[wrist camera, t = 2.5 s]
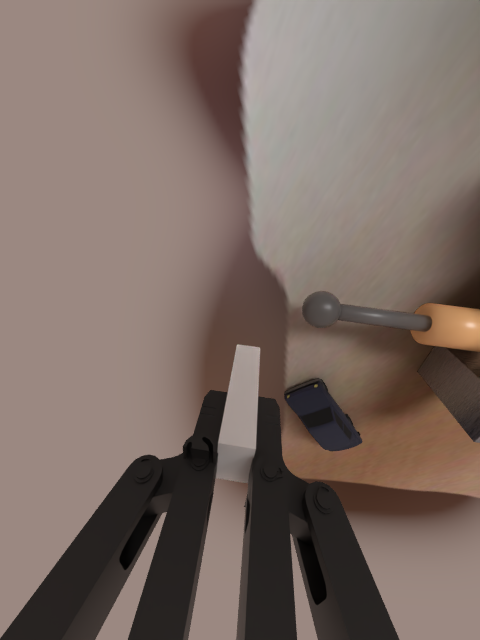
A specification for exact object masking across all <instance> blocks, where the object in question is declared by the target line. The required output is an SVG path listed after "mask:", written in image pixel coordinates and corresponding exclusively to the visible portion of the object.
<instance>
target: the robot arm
mask: <svg viewBox="0 0 480 640" xmlns="http://www.w3.org/2000/svg"><path fill="white" fill-rule="evenodd" d="M259 361H260V347H253V346H245V345H238V344H237V347H236V353H235V358H234V364H233V368H232V373H231V379H230V384H229V389H228V393H227V392H221V391H214V390H210V391H209V392H208V394H207V395H206V396H205V397H204V401H203V404H202V408H201V411H200V415H199V418H198V421H197V424H196V427H195V431H194V434H193V436H191V437H190V438H189V439H187V440H186V442H185V444H184V445H183V453H182V454H180V455H178V456H175V457H172V458H167V459H161V460H159V459H158V458H157V457H156V456H153V455H144V456H141V457H140V458H138V459H136V460H135V461H134V462H133V463H132V464H131V465H130V466H129V467H128V468H127V470H126V471H125V473H124V474H123V475H122V476H121V478H120V479H119V480H118V482H117V483H116V484H115V486H114V487H113V488H112V490H111V491H110V492H109V494H108V495H107V496H106V498H105V499H104V501H103V502H102V503H101V505H100V506H99V507H98V509H97V510H96V511H95V513H94V514H93V515H92V517H91V518H90V519H89V521H88V522H87V523H86V525H85V526H84V527H83V529H82V530H81V531H80V533H79V534H78V535H77V537H76V538H75V539H74V541H73V542H72V543H71V545H70V546H69V547H68V549H67V550H66V551H65V553H64V554H63V555H62V557H61V558H60V559H59V561H58V562H57V563H56V565H55V566H54V568H53V569H52V570H51V572H50V573H49V574H48V575H47V577H46V578H45V579H44V581H43V582H42V584H41V585H40V586H39V588H38V589H37V590H36V592H35V593H34V594H33V596H32V597H31V598H30V600H29V601H28V602H27V604H26V605H25V606H24V608H23V609H22V610H21V612H20V613H19V615H18V616H17V617H16V618H15V620H14V621H13V622H12V624H11V625H10V626H9V628H8V629H7V630H6V632H5V633H4V634H3V636H2V637H1V638H0V640H95V639H96V637H97V635H98V633H99V631H100V629H101V627H102V626H103V623H104V621H105V620H106V618H107V616H108V614H109V612H110V610H111V609H112V607H113V605H114V603H115V601H116V599H117V597H118V595H119V594H120V591H121V589H122V588H123V586H124V584H125V582H126V580H127V578H128V577H129V574H130V573H131V571H132V569H133V567H134V565H135V563H136V562H137V560H138V558H139V556H140V554H141V552H142V550H143V548H144V547H145V545H146V543H147V541H148V539H149V537H150V535H151V533H152V531H153V529H154V528H155V526H156V524H157V522H158V520H159V518H160V516H161V515H162V513H164V512H167V514H166V517H165V520H164V523H163V527H162V530H161V534H160V537H159V540H158V543H157V547H156V550H155V553H154V556H153V559H152V562H151V566H150V569H149V572H148V575H147V579H146V582H145V586H144V589H143V592H142V595H141V598H140V602H139V605H138V608H137V611H136V615H135V618H134V622H133V624H132V628H131V631H130V634H129V638H128V640H188V636H189V631H190V625H191V619H192V613H193V608H194V602H195V596H196V590H197V584H198V579H199V573H200V567H201V562H202V556H203V550H204V544H205V538H206V533H207V527H208V521H209V515H210V510H211V503H212V498H213V491H214V484H215V478H220V479H226V480H231V481H237V482H243V483H248V494H247V498H246V502H245V506H244V507H246V509H245V523H244V524H245V525H244V538H243V554H242V567H241V581H240V595H239V610H238V625H237V639H236V640H297V632H296V617H295V602H294V588H293V571H292V557H291V541H290V534H292V536H293V541H294V545H295V549H296V553H297V557H298V561H299V565H300V569H301V573H302V577H303V581H304V585H305V589H306V593H307V597H308V601H309V605H310V609H311V613H312V617H313V621H314V625H315V630H316V634H317V637H318V640H399V638H398V635H397V633H396V631H395V628H394V626H393V624H392V621H391V619H390V617H389V614H388V612H387V609H386V607H385V605H384V602H383V600H382V598H381V595H380V593H379V591H378V589H377V586H376V584H375V581H374V579H373V577H372V574H371V572H370V570H369V567H368V565H367V563H366V560H365V558H364V555H363V553H362V551H361V548H360V546H359V544H358V542H357V539H356V537H355V534H354V532H353V530H352V527H351V525H350V523H349V520H348V518H347V516H346V513H345V511H344V508H343V506H342V504H341V502H340V499H339V498H338V496H337V494H336V492H335V491H334V490H333V489H332V488H331V487H330V486H328V485H327V484H325V483H323V482H313V483H311V484H309V483H307V482H305V481H304V480H302V479H300V478H298V477H296V476H295V475H293V474H292V473H291V472H290V471H289V470H288V469H287V467H286V465H285V463H284V461H283V457H282V444H281V427H280V409H279V406H278V404H277V402H276V400H275V399H271V398H264V397H258V386H259V363H260V362H259Z"/></svg>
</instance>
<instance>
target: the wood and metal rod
mask: <svg viewBox="0 0 480 640" xmlns="http://www.w3.org/2000/svg"><path fill="white" fill-rule="evenodd" d="M302 314H303V317H304V319H305V320H306V321H307V322H308V323H309V324H310V325H312V326H314V327H317V328H325V327H329V326H331V325H333V324H334V323H335V322H336V321H337V320H341V321H348V322H355V323H363V324H370V325H377V326H385V327H392V328H400V329H407V330H411V334H412V337H413V338H414V340H415V341H416V342H418V343H420V344H425V345H432V346H439V347H447V348H454V349H461V350H468V351H476V352H480V309H473V308H465V307H457V306H450V305H442V304H434V303H426V304H423V305H422V306H420V307H419V308H418V309H417V310H416V311H415V313H414V314H413V313H405V312H398V311H390V310H382V309H375V308H367V307H360V306H352V305H345V304H340V302H339V300H338V299H337V298H336V297H335V296H334V295H333V294H331V293H329V292H325V291H319V292H315V293H313V294H311V295H309V296H308V297H307V298H306V300H305V301H304V303H303V306H302Z"/></svg>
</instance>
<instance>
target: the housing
mask: <svg viewBox="0 0 480 640" xmlns="http://www.w3.org/2000/svg"><path fill="white" fill-rule="evenodd" d="M417 372H418V373H419V374H420V375H421V377H422V378H423V379H424V380H425V382H426V383H427V384H428V385H429V387H430V388H431V389H432V390H433V391H434V393H435V394H436V395H437V396H438V398H439V399H440V400H441V401H442V403H443V404H444V405H445V406H446V408H447V409H448V410H449V411H450V413H451V414H452V415H453V416H454V418H455V419H456V420H457V421H458V423H459V424H460V425H461V426H462V428H463V429H464V430H465V431H466V433H467V434H468V435H469V436H470V438H471V439H472V440H473V441H474V442H478V443H480V352H476V351H468V350H461V349H454V348H447V347H439V346H434V348H433V349H432V351H431V352H430V354H429V355H428V357H427V358H426V360H425V361H424V362H423V364H422V365H421V367H420V368H419V370H418V371H417Z"/></svg>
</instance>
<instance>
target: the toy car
mask: <svg viewBox="0 0 480 640" xmlns="http://www.w3.org/2000/svg"><path fill="white" fill-rule="evenodd" d="M284 395H285V396H284V397H285V400H286V401H287V403H288V405H289V406H290V407H291V408H292V409H293V411H294V412H295V413H296V414H297V415H298V416H299V418H300V419H301V421H302V422H303V424H304V425H305V427H306V428H307V430H308V431H309V433H310V434H311V435H312V436H313V437H314V439H315V440H316V441H317V442H318V443H319V444H320V446H321V447H322V448H323V449H325V450H329V451H340V450H345V449H349V448H352V447H355V446H357V445H359V444H361V443H362V439H361V437H360V433H359V432H357V431H356V429H355V428H354V426H353V423H352V421H351V419H350V417H349V416H348V415H347V414H346V415H345V414H344V413H343V411H342V410H341V409H340V407H339V406H338V405H337V403H336V402H335V401H334V399H333V398H332V397H331V395H330V394H329V393H328V389H327V387H326V385H325V383H324V382H323V380H322V379H319V378H318V379H314V380H311V381H309V382H306V383H303V384H300V385H298V386H296V387H294V388H291V389H289V390H287V391H285V393H284Z"/></svg>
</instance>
